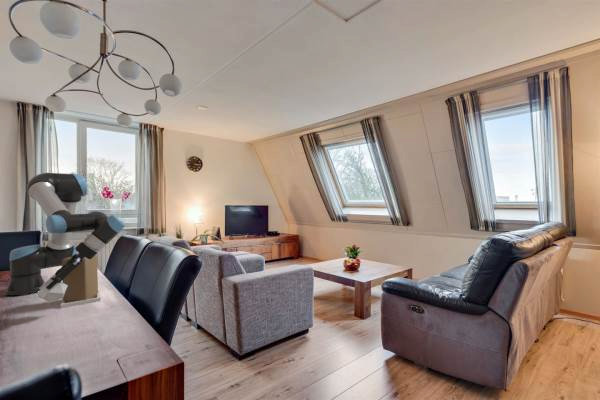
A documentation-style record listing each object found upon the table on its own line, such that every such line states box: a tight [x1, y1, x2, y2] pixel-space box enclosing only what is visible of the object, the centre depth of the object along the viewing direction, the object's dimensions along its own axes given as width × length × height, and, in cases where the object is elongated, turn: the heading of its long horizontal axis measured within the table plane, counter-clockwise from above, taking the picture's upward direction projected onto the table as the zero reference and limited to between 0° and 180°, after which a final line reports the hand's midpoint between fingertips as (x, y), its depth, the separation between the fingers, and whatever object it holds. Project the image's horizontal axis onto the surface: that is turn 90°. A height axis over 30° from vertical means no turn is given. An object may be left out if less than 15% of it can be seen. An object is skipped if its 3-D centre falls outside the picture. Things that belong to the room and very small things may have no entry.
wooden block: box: [61, 254, 99, 303], centre depth 138 cm, size 10×10×20 cm
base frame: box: [60, 290, 102, 309], centre depth 138 cm, size 14×14×2 cm
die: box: [37, 281, 68, 304], centre depth 120 cm, size 8×9×10 cm
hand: (41, 292), depth 117 cm, fingers closed on die, 8 cm apart
